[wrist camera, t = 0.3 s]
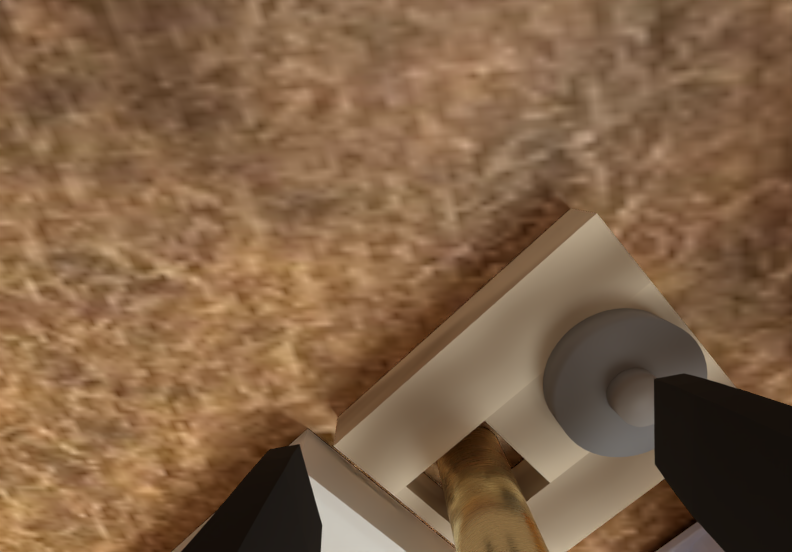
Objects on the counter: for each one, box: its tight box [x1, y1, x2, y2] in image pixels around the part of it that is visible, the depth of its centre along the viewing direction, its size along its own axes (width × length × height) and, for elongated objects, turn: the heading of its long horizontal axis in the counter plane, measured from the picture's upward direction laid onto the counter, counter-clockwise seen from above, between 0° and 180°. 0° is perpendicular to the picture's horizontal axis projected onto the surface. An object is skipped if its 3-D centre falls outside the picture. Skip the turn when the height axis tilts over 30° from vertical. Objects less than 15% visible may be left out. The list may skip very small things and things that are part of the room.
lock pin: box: [437, 426, 549, 552], centre depth 16 cm, size 3×3×7 cm
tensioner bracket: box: [334, 209, 736, 552], centre depth 17 cm, size 12×14×4 cm
